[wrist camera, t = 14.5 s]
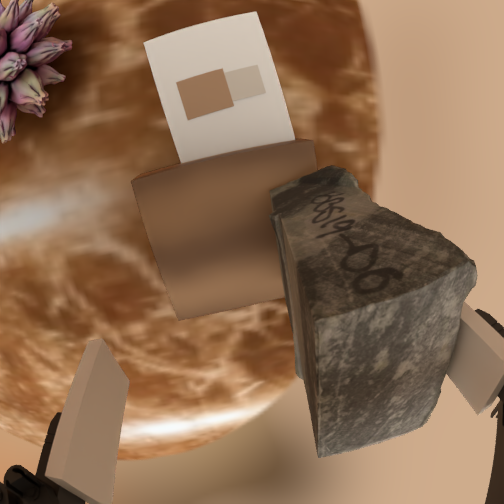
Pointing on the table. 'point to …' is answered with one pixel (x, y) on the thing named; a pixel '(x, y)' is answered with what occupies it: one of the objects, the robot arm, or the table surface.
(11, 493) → the robot arm
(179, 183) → the base brick
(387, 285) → the stone block
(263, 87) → the page
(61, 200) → the table surface
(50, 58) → the flower
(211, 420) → the table surface
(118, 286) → the table surface
